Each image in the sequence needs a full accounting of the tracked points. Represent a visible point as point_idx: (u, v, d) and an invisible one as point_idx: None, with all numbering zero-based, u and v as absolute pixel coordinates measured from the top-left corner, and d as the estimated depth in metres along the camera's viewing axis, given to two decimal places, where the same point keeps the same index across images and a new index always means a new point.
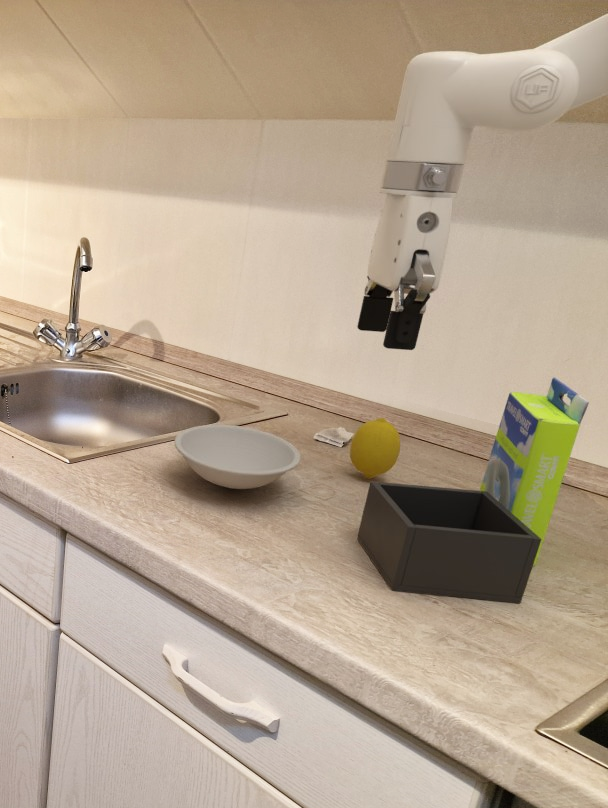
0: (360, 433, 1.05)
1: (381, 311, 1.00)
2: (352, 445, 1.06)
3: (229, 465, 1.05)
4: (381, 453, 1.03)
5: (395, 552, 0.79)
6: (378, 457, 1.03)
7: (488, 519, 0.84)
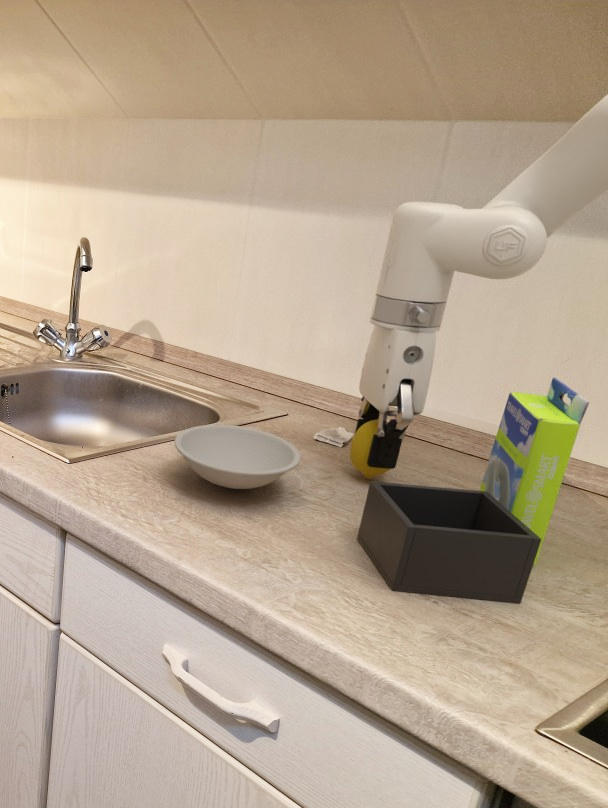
0: (360, 433, 1.05)
1: None
2: (352, 445, 1.06)
3: (229, 465, 1.05)
4: None
5: (395, 552, 0.79)
6: None
7: (488, 519, 0.84)
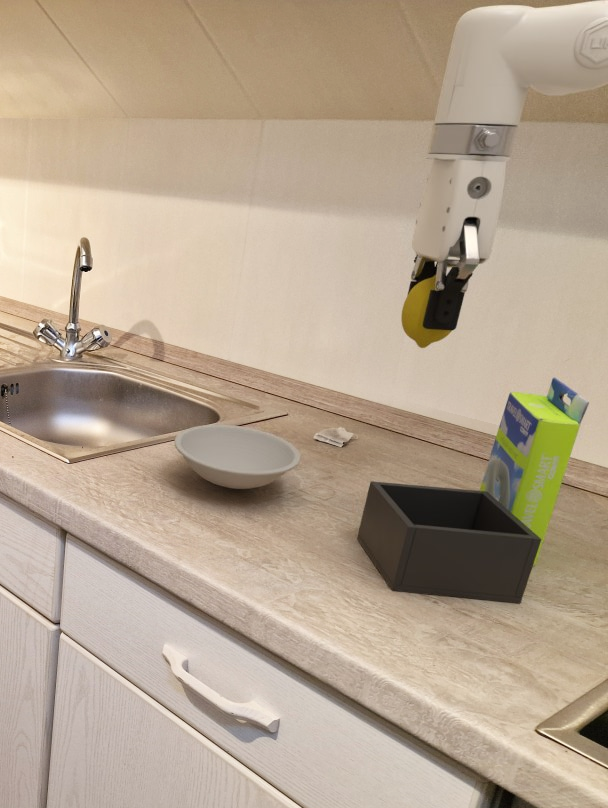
0: (414, 292, 0.92)
1: None
2: (404, 308, 0.93)
3: (229, 465, 1.05)
4: None
5: (395, 552, 0.79)
6: None
7: (488, 519, 0.84)
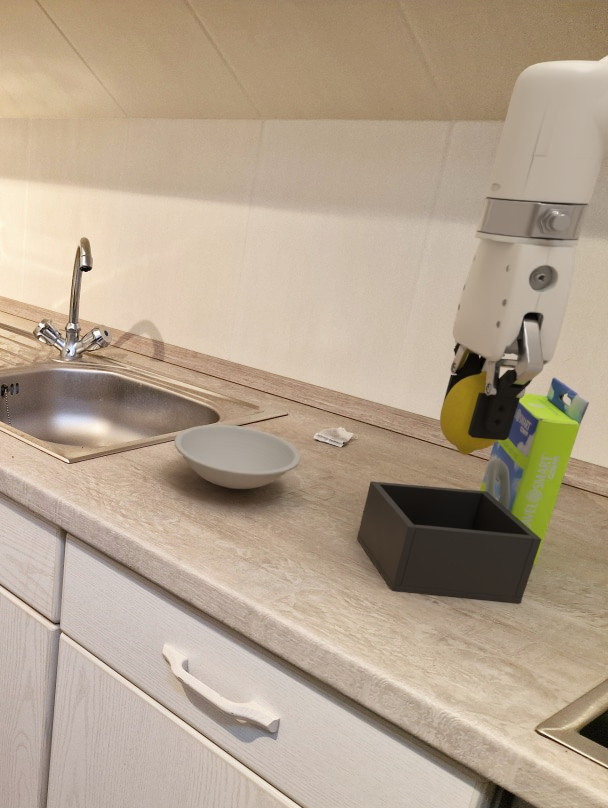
0: (457, 392, 0.77)
1: None
2: (444, 409, 0.78)
3: (229, 465, 1.05)
4: None
5: (395, 552, 0.79)
6: None
7: (488, 519, 0.84)
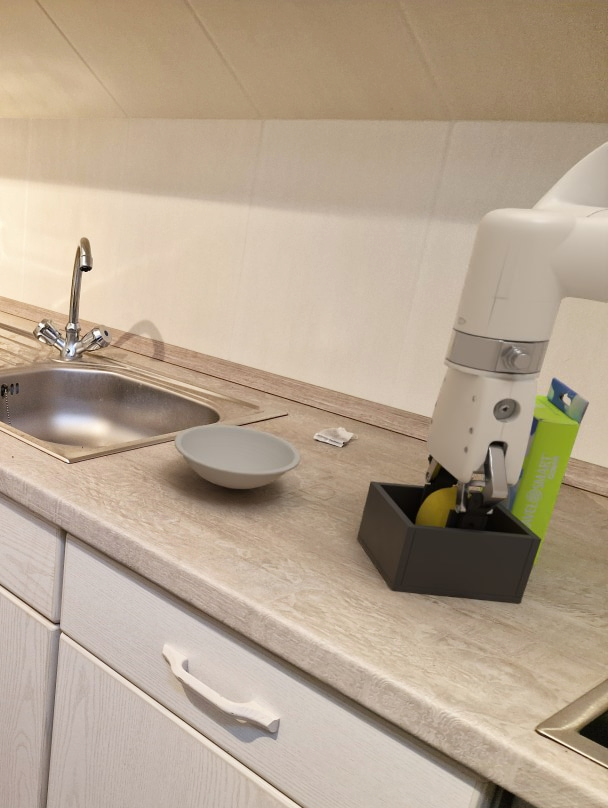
0: (430, 505, 0.81)
1: None
2: (418, 520, 0.83)
3: (229, 465, 1.05)
4: None
5: (395, 552, 0.79)
6: None
7: (488, 519, 0.84)
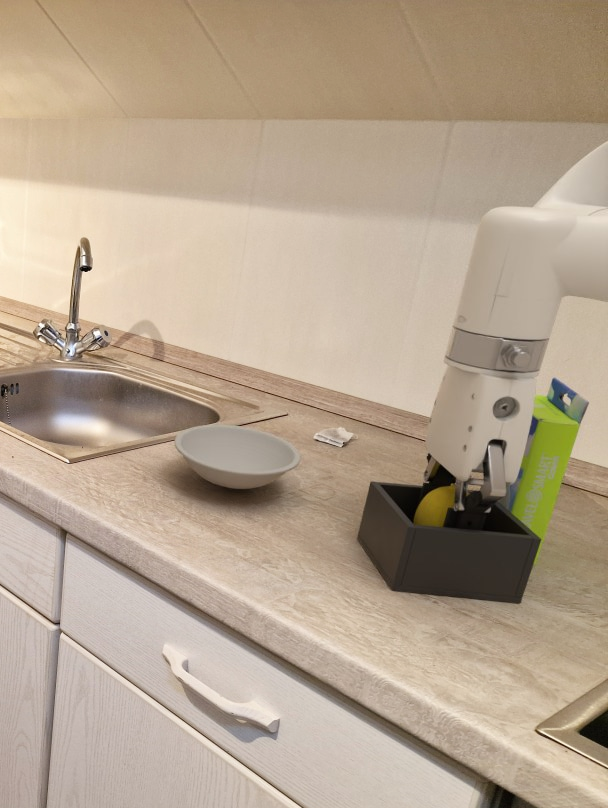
0: (428, 503, 0.81)
1: None
2: (417, 518, 0.82)
3: (229, 465, 1.05)
4: None
5: (395, 552, 0.79)
6: None
7: (488, 519, 0.84)
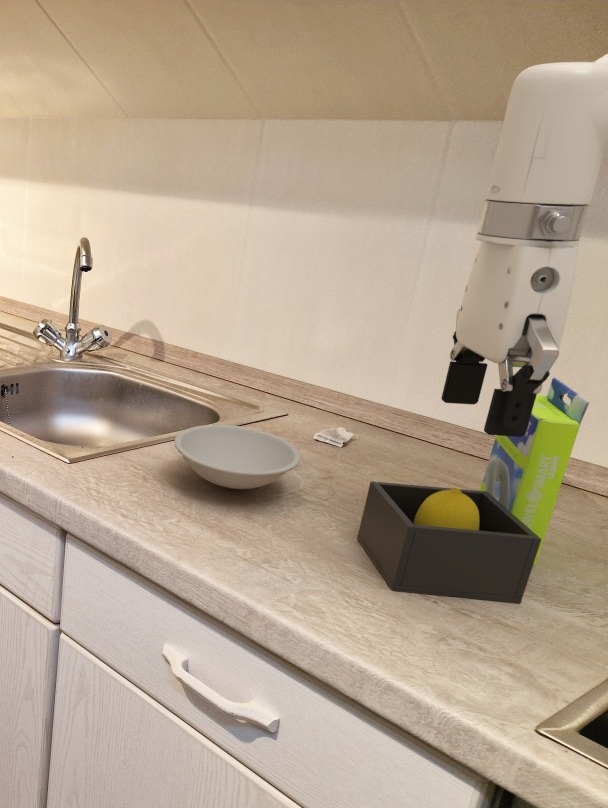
0: (428, 507, 0.81)
1: (472, 380, 0.82)
2: (416, 522, 0.83)
3: (229, 465, 1.05)
4: None
5: (395, 552, 0.79)
6: None
7: (488, 519, 0.84)
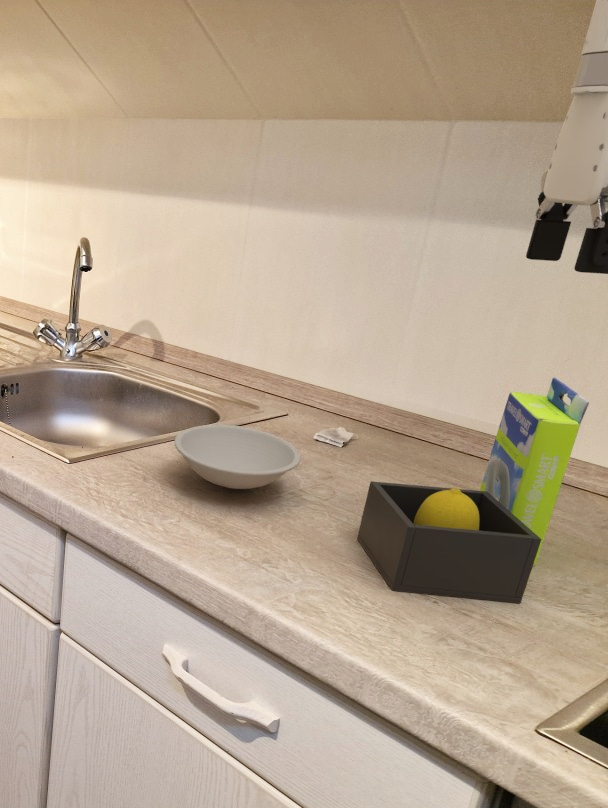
0: (428, 507, 0.81)
1: (556, 237, 0.89)
2: (416, 522, 0.83)
3: (229, 465, 1.05)
4: None
5: (395, 552, 0.79)
6: None
7: (488, 519, 0.84)
